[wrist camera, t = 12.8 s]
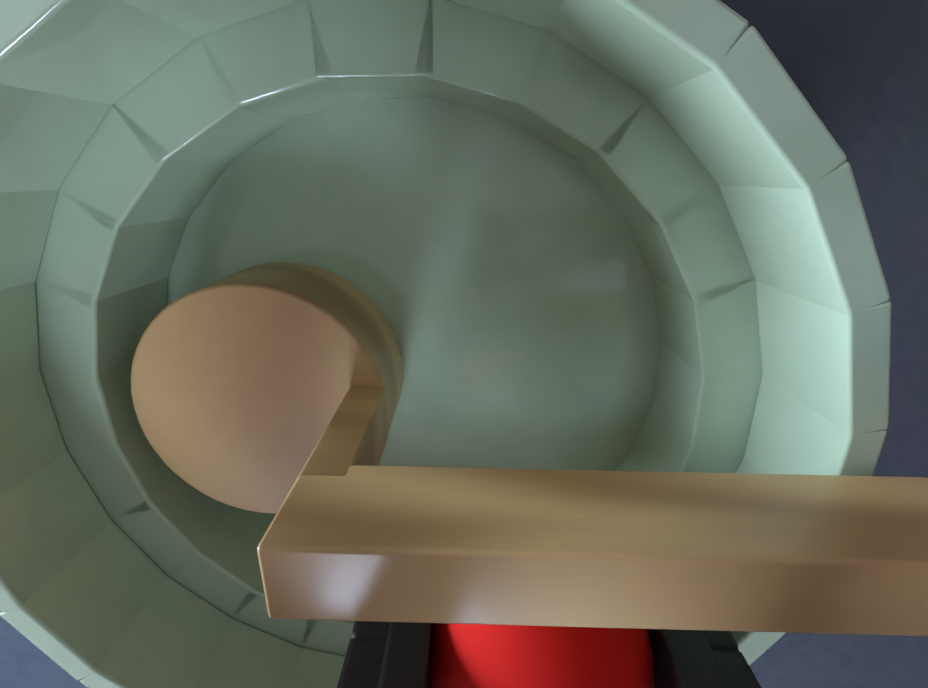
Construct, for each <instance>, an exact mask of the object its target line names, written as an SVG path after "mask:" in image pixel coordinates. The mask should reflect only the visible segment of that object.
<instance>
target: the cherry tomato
mask: <svg viewBox="0 0 928 688" xmlns="http://www.w3.org/2000/svg"><path fill="white" fill-rule="evenodd" d="M431 680H432V687H433V688H654V660H653V653H652V646H651V641H650V637H649V634H648V631H647V629H634V628H596V627H559V626H521V625H483V624H446V623H434V625H433V638H432V660H431Z"/></svg>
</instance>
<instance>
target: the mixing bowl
mask: <svg viewBox="0 0 928 688" xmlns="http://www.w3.org/2000/svg"><path fill="white" fill-rule="evenodd" d="M748 24H749V23H748V21H747V20H746V19H744V18H743V17H742V16H740V15H739V14H738V13H736V12H735V11H734V10H732V9H731V8H729V7H728V6H727V5H725V4H724V3H723V2H721V1H720V0H0V616H1V617H2V618H3V619H4V620H6V621H7V622H8V623H9V624H10V625H12V626H13V627H14V628H15V629H16V630H17V631H19V632H20V633H21V634H22V635H23V636H25V637H26V638H27V639H28V640H29V641H31V642H32V643H33V644H34V645H35V646H36V647H38V648H39V649H40V650H41V651H42V652H44V653H45V654H46V655H47V656H48V657H50V658H51V659H52V660H53V661H54V662H55V663H57V664H58V665H59V666H60V667H61V668H63V669H64V670H65V671H66V672H67V673H69V674H70V675H71V676H72V677H73V678H75V679H76V680H81V681H80V682H81V684H83V685H85V686H87V687H88V688H337V685H338V682H339V678H340V674H341V670H342V667H343V663H344V659H345V656H346V652H347V648H348V645H349V641H350V639H351V635H352V630H353V626H354V623H355V621H333V620H296V619H272V618H270V617H269V616H268V610H267V604H266V599H265V593H264V587H263V582H262V576H261V570H260V564H259V559H258V553H257V547H258V545H259V543H260V541H261V539H262V538H263V536H264V534H265V533H266V531H267V529H268V527H269V526H270V524H271V522H272V521H273V519H274V517H275V515H276V514H270V513H259V512H254V511H248V510H244V509H240V508H237V507H233V506H230V505H227V504H225V503H222V502H220V501H217V500H215V499H213V498H211V497H209V496H207V495H205V494H203V493H202V492H200V491H198V490H197V489H195V488H194V487H192V486H191V485H189V484H188V483H186V482H185V481H184V480H183V479H182V478H180V477H179V476H178V475H177V474H175V473H174V472H173V471H172V470H171V469H170V468H169V467H168V466H167V465H166V464H165V463H164V462H163V460H162V459H161V458H160V457H159V455H158V454H157V453H156V452H155V450H154V449H153V447H152V446H151V444H150V443H149V441H148V439H147V438H146V436H145V434H144V432H143V430H142V428H141V426H140V424H139V422H138V418H137V415H136V412H135V409H134V405H133V400H132V394H131V369H132V361H133V358H134V354H135V351H136V347H137V345H138V343H139V341H140V339H141V337H142V335H143V333H144V331H145V330H146V328H147V327H148V325H149V324H150V322H151V321H152V320H153V319H154V318H155V317H156V316H157V315H158V314H159V313H160V311H161V310H162V309H164V308H165V307H166V306H168V305H169V304H170V303H172V302H173V301H174V300H176V299H178V298H180V297H181V296H183V295H185V294H187V293H189V292H191V291H194V290H196V289H198V288H201V287H203V286H206V285H208V284H210V283H213V282H215V281H218V280H220V279H222V278H225V277H227V276H230V275H232V274H234V273H237V272H239V271H241V270H244V269H247V268H250V267H253V266H257V265H262V264H267V263H279V262H287V263H300V264H304V265H309V266H314V267H317V268H320V269H323V270H326V271H329V272H331V273H333V274H335V275H337V276H339V277H341V278H343V279H345V280H346V281H348V282H349V283H351V284H352V285H354V286H356V287H357V288H358V289H359V290H360V291H362V292H363V293H364V294H365V295H366V296H368V297H369V299H370V300H371V301H372V302H373V303H374V304H375V305H376V306H377V307H378V308H379V310H380V311H381V312H382V314H383V315H384V316H385V318H386V319H387V321H388V323H389V325H390V326H391V328H392V330H393V332H394V334H395V337H396V339H397V342H398V344H399V348H400V353H401V357H402V365H403V384H402V390H401V395H400V398H399V401H398V404H397V407H396V410H395V413H394V416H393V419H392V422H391V425H390V428H389V431H388V439H387V442H386V445H385V448H384V451H383V454H382V457H381V460H380V463H379V466H416V467H463V468H511V469H559V470H607V471H654V472H702V473H750V474H798V475H846V476H873V474H874V471H875V468H876V465H877V462H878V459H879V456H880V453H881V450H882V447H883V444H884V441H885V438H886V435H887V431H886V429H888V427H889V394H890V352H891V309H892V304H891V302H890V301H888V300H889V299H890V294H889V291H888V287H887V284H886V281H885V277H884V274H883V271H882V267H881V264H880V261H879V258H878V254H877V251H876V248H875V244H874V241H873V238H872V234H871V231H870V228H869V225H868V221H867V218H866V215H865V211H864V208H863V205H862V201H861V198H860V195H859V192H858V188H857V185H856V182H855V178H854V175H853V172H852V168H851V165H850V164H849V162H847V161H846V159H847V157H846V155H845V153H844V152H843V151H842V149H841V148H840V146H839V145H838V144H837V142H836V141H835V139H834V138H833V137H832V135H831V134H830V132H829V131H828V129H827V128H826V127H825V125H824V124H823V122H822V121H821V120H820V118H819V117H818V115H817V114H816V113H815V111H814V110H813V108H812V107H811V106H810V104H809V103H808V101H807V100H806V99H805V97H804V96H803V94H802V93H801V92H800V90H799V89H798V87H797V86H796V84H795V83H794V82H793V80H792V79H791V77H790V76H789V75H788V73H787V72H786V70H785V69H784V68H783V66H782V65H781V63H780V62H779V61H778V59H777V58H776V56H775V55H774V54H773V52H772V51H771V49H770V48H769V47H768V45H767V44H766V42H765V41H764V39H763V38H762V37H761V35H760V34H759V32H758V31H757V30H756V28H755V27H753V26H749V27H748ZM730 632H731V634H732V636H733V638H734V639H735V641H736V643H737V645H738V649H739V652H742V654H743V656H744V658H745V659H746V661H747V663H748V665H749V666H750V665H751V664H752V663H753V662H754V661H755V660H757V659H758V658H759V657H760V656H761V655H762V654H763V653H764V652H766V651H767V650H768V649H769V648H770V647H771V646H772V645H773V644H775V643H776V642H777V641H778V640H779V639H780V638H781V637H782V636H784V635H785V634H786V633H784V632H747V631H730Z"/></svg>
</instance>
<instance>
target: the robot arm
mask: <svg viewBox="0 0 928 688" xmlns="http://www.w3.org/2000/svg"><path fill="white" fill-rule="evenodd" d="M433 625H434V623H408V622H371V621H355V623H354V626H353V630H352V635H351V639H350V641H349V645H348V648H347V652H346V656H345V659H344V663H343V667H342V670H341V674H340V678H339V682H338V685H337V688H433V687H432V680H431V660H432V638H433ZM647 631H648V634H649V637H650V641H651V646H652V653H653V660H654V688H761V687H760V685H759V683H758V681H757V679H756V677H755V676H754V674H753V672H752V670H751V668H750V667H749V665H748V663H747V661H746V659H745V658H744V656H743V654H742V652H739V649H738V645H737V643H736V641H735V639H734V638H733V636H732V634H731V632H730V631H709V630H671V629H647Z"/></svg>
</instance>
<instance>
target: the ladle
mask: <svg viewBox="0 0 928 688" xmlns="http://www.w3.org/2000/svg"><path fill="white" fill-rule="evenodd" d="M402 384H403V365H402V357H401V353H400V348H399V344H398V342H397V339H396V337H395V334H394V332H393V330H392V328H391V326H390V325H389V323H388V321H387V319H386V318H385V316H384V315H383V314H382V312H381V311H380V310H379V308H378V307H377V306H376V305H375V304H374V303H373V302H372V301H371V300H370V299H369V297H368V296H366V295H365V294H364V293H363V292H362V291H360V290H359V289H358V288H357V287H356V286H354V285H352V284H351V283H349V282H348V281H346V280H345V279H343V278H341V277H339V276H337V275H335V274H333V273H331V272H329V271H326V270H323V269H320V268H317V267H314V266H309V265H304V264H300V263H287V262H279V263H267V264H262V265H257V266H253V267H250V268H247V269H244V270H241V271H239V272H237V273H234V274H232V275H230V276H227V277H225V278H222V279H220V280H218V281H215V282H213V283H210V284H208V285H206V286H203V287H201V288H198V289H196V290H194V291H191V292H189V293H187V294H185V295H183V296H181V297H180V298H178V299H176V300H174V301H173V302H172V303H170V304H169V305H168V306H166V307H165V308H164V309H162V310H161V311H160V313H159V314H158V315H157V316H156V317H155V318H154V319H153V320H152V321H151V322H150V324H149V325H148V327H147V328H146V330H145V331H144V333H143V335H142V337H141V339H140V341H139V343H138V345H137V347H136V351H135V354H134V358H133V361H132V369H131V394H132V400H133V405H134V409H135V412H136V415H137V418H138V422H139V424H140V426H141V428H142V430H143V432H144V434H145V436H146V438H147V439H148V441H149V443H150V444H151V446H152V447H153V449H154V450H155V452H156V453H157V454H158V455H159V457H160V458H161V459H162V460H163V462H164V463H165V464H166V465H167V466H168V467H169V468H170V469H171V470H172V471H173V472H174V473H175V474H177V475H178V476H179V477H180V478H182V479H183V480H184V481H185V482H186V483H188V484H189V485H191V486H192V487H194V488H195V489H197V490H198V491H200V492H202V493H203V494H205V495H207V496H209V497H211V498H213V499H215V500H217V501H220V502H222V503H225V504H227V505H230V506H233V507H237V508H240V509H244V510H248V511H254V512H259V513H270V514H276V515H275V517H274V519H273V521H272V522H271V524H270V526H269V527H268V529H267V531H266V533H265V534H264V536H263V538H262V539H261V541H260V543H259V545H258V547H257V553H258V559H259V564H260V570H261V576H262V582H263V587H264V593H265V599H266V604H267V610H268V616H269V617H270V618H272V619H296V620H333V621H371V622H408V623H446V624H483V625H521V626H559V627H596V628H634V629H671V630H709V631H747V632H784V633H822V634H859V635H897V636H928V477H893V476H846V475H798V474H750V473H702V472H654V471H607V470H559V469H511V468H463V467H416V466H379V463H380V460H381V457H382V454H383V451H384V448H385V445H386V442H387V439H388V431H389V428H390V425H391V422H392V419H393V416H394V413H395V410H396V407H397V404H398V401H399V398H400V395H401V390H402Z"/></svg>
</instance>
